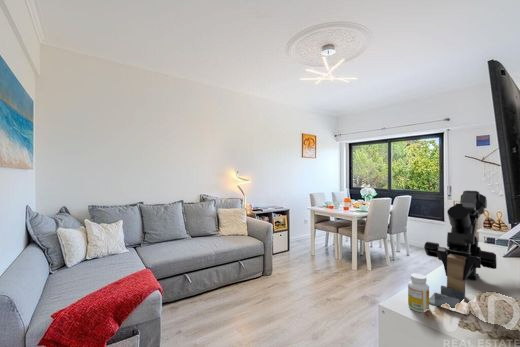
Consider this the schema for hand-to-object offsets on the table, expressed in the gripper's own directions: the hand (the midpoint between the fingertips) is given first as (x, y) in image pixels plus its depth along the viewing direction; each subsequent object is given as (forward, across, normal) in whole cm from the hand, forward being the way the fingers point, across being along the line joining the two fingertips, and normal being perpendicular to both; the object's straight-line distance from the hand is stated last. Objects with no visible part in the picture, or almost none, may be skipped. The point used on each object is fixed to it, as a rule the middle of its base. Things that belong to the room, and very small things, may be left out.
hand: (455, 277), depth 81 cm
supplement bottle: (+15, -7, -5) cm, 17 cm away
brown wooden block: (+4, 0, +6) cm, 7 cm away
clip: (+9, -1, +1) cm, 9 cm away
